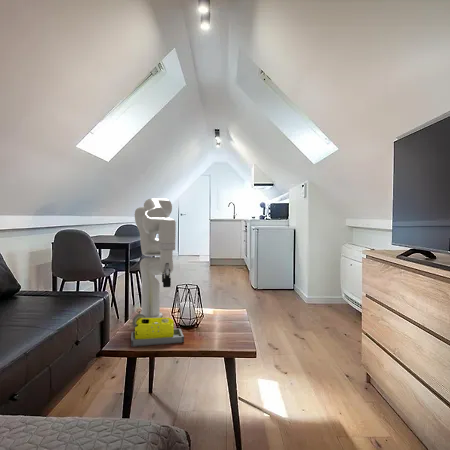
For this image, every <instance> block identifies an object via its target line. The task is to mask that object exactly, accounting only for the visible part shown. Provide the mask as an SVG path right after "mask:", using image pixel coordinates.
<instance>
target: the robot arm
mask: <svg viewBox="0 0 450 450" xmlns="http://www.w3.org/2000/svg"><path fill="white" fill-rule="evenodd" d="M172 211H173V204H172V202H171V201H170V200H169V198H155V197H154V198H149V199H147V200H145V201H144V203H143V206H140V207H138V208H136V209H135V210H134V221H135V225H136V227H137V230H138V232H139V239H140V249H141V250H140V251H141V254H142V255H143V256H145V257H144V258H142V259H141V260H140V263H139V270H140V278H141V307H140V309H141V310H142V311H141V310H140V311H141V312H140V314H143V315H144V316H145V318H163V312H160V308H161V307H160V303H161V300H160V298H161V297H160V295H161V294H160V293H161V289H160V288H161V285H160V284H161V283H162V287H163V288H171V286H172V285H171V284H172V281H171V280H172V277H171V274H172V272H173V271H174V260H173V259H174V258H173V254H174V253H173V251H176V232H177V231H176V229H177V227H176V226H177V224H176V223H177V222H176V220H175V219H174V218H171V217H170V215H171V213H172ZM156 235H157V236H158V238H157V236H156ZM160 275H161V283H160V280H159V279H158V278H157V277H156V276H160Z"/></svg>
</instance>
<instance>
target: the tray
mask: <svg viewBox="0 0 450 450" xmlns="http://www.w3.org/2000/svg"><path fill="white" fill-rule="evenodd" d="M130 335H131V336H130V340H131V341H130V342H131V343H130V345H131V347H145V346H155V345H156V346H157V345H158V346H159V345H169V344H172V345H173V344H182V342H184V343H185V336H184V334H183V331H182V329H181V328H174V335H173V337H164V338H151V339H135V331H131V332H130Z"/></svg>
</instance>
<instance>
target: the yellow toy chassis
mask: <svg viewBox="0 0 450 450" xmlns="http://www.w3.org/2000/svg"><path fill="white" fill-rule="evenodd" d="M143 319H145V320H143ZM143 321H144V322H143ZM174 321H175V320H174V319H172V318H171V317H161V318H141V319H139V320H138V321H137V326H136V327H134V332H135V339H151V338H164V337H173V335H174V329H175V328H174V327H175V322H174Z"/></svg>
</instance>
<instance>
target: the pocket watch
mask: <svg viewBox="0 0 450 450" xmlns="http://www.w3.org/2000/svg"><path fill="white" fill-rule="evenodd" d="M141 311H142V310H141V308H139V310H138V311H137V313H138V314H136V315H135V316H134V317H133V318H132V326H133V327H134V328H135V327H136V326H137V321H138V320H139V319H141V318H145V316H144V315H143V314H140V313H141ZM143 320H145V319H143ZM143 322H144V321H143Z"/></svg>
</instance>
